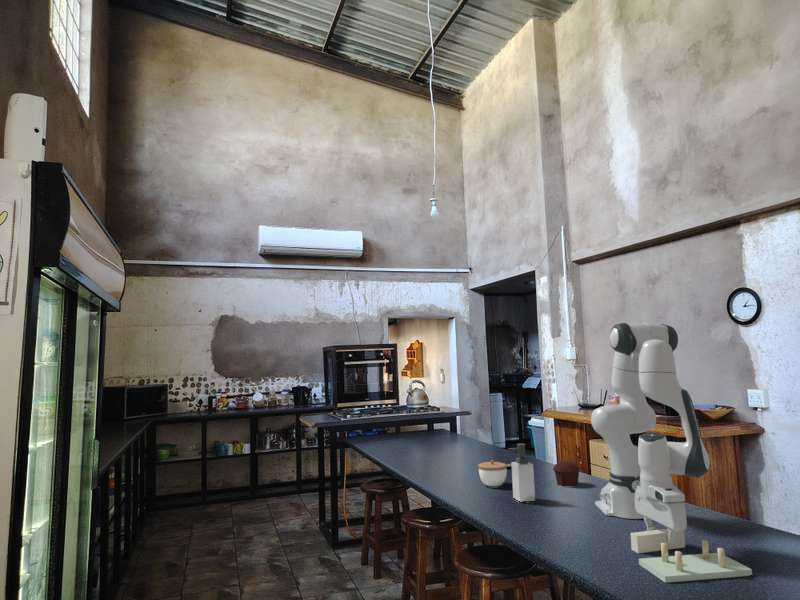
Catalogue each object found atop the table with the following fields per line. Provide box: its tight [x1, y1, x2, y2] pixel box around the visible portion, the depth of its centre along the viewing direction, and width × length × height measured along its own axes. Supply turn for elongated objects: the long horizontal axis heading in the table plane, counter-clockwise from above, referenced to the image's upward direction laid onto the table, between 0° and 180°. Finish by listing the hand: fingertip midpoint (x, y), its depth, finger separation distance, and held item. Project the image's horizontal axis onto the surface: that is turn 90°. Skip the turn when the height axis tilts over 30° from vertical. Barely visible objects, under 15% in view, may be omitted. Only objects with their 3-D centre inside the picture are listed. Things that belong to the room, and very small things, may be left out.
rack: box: [638, 539, 753, 584], centre depth 142 cm, size 24×12×6 cm, turn 96°
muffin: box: [552, 460, 581, 487], centre depth 236 cm, size 12×11×10 cm
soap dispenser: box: [507, 443, 536, 502], centre depth 213 cm, size 6×9×22 cm
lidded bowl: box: [477, 459, 508, 487], centre depth 238 cm, size 13×13×11 cm
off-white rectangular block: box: [629, 528, 686, 554], centre depth 158 cm, size 16×3×5 cm, turn 103°
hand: (660, 537), depth 157 cm, fingers open, 8 cm apart
